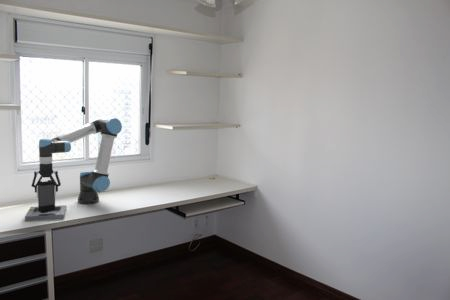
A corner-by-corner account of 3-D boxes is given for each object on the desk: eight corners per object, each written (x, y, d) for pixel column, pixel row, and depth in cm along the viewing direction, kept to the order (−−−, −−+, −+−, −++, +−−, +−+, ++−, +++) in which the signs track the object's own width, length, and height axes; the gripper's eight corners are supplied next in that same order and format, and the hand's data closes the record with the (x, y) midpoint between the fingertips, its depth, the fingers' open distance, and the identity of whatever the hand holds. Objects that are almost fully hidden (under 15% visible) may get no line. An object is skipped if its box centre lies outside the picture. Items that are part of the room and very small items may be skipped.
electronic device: (51, 209, 251) (51, 179, 249) (56, 210, 247) (55, 181, 245) (37, 211, 244) (36, 181, 241) (41, 213, 240) (41, 183, 238)
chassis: (66, 209, 260) (66, 204, 259) (63, 219, 239) (63, 213, 239) (30, 211, 253) (30, 205, 252) (25, 221, 232) (24, 215, 232)
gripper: (65, 161, 249) (65, 194, 252) (27, 162, 241) (28, 196, 244) (64, 163, 242) (64, 197, 244) (25, 164, 234) (26, 199, 237)
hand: (46, 196), depth 244 cm, fingers closed on electronic device, 10 cm apart
